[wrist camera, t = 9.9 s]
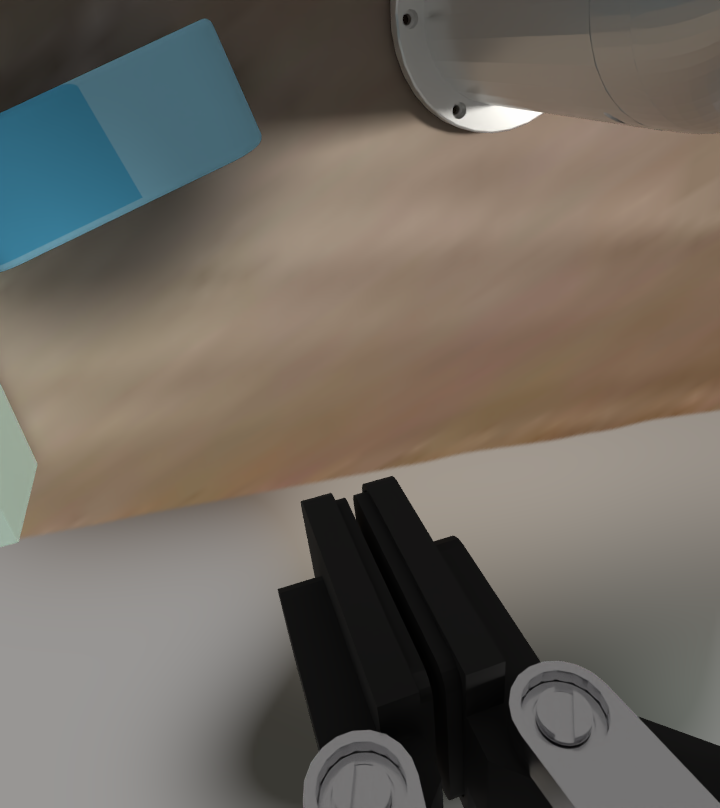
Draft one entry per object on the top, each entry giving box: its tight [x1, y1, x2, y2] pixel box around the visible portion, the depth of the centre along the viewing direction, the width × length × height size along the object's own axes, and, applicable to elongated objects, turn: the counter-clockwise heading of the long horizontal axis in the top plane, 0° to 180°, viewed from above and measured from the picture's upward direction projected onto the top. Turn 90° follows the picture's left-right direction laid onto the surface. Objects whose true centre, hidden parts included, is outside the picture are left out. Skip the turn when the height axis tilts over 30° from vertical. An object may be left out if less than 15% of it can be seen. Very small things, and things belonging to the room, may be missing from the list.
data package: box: [0, 19, 262, 272], centre depth 27 cm, size 12×4×12 cm, turn 111°
